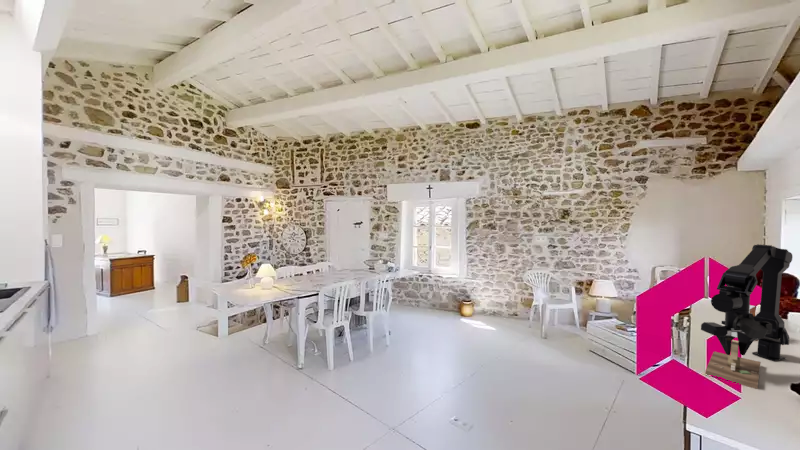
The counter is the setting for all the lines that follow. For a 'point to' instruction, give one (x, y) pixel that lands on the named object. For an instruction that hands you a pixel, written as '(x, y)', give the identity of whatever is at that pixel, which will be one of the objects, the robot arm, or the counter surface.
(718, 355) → the board
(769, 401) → the counter surface
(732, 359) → the beige wooden angled piece
